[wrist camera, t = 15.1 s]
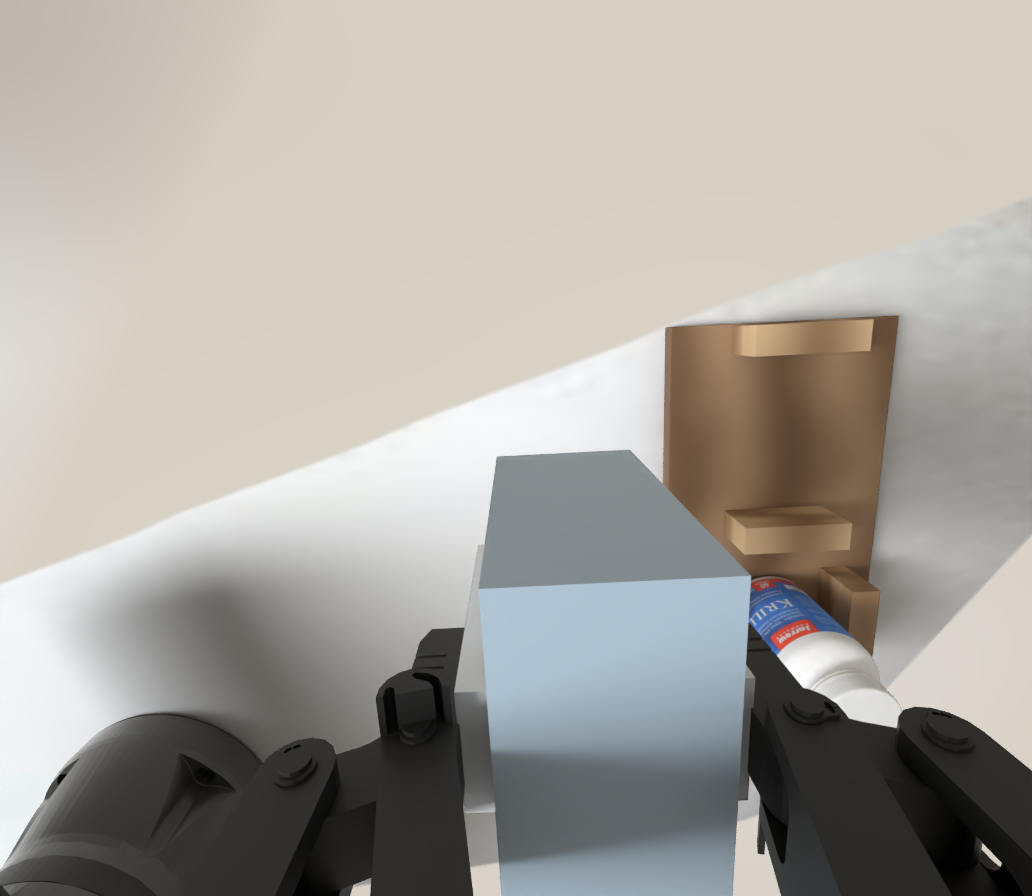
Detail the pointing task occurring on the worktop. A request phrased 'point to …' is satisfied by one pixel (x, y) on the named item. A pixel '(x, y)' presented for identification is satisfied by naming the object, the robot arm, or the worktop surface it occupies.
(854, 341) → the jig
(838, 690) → the pill bottle
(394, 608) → the worktop surface
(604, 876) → the block
